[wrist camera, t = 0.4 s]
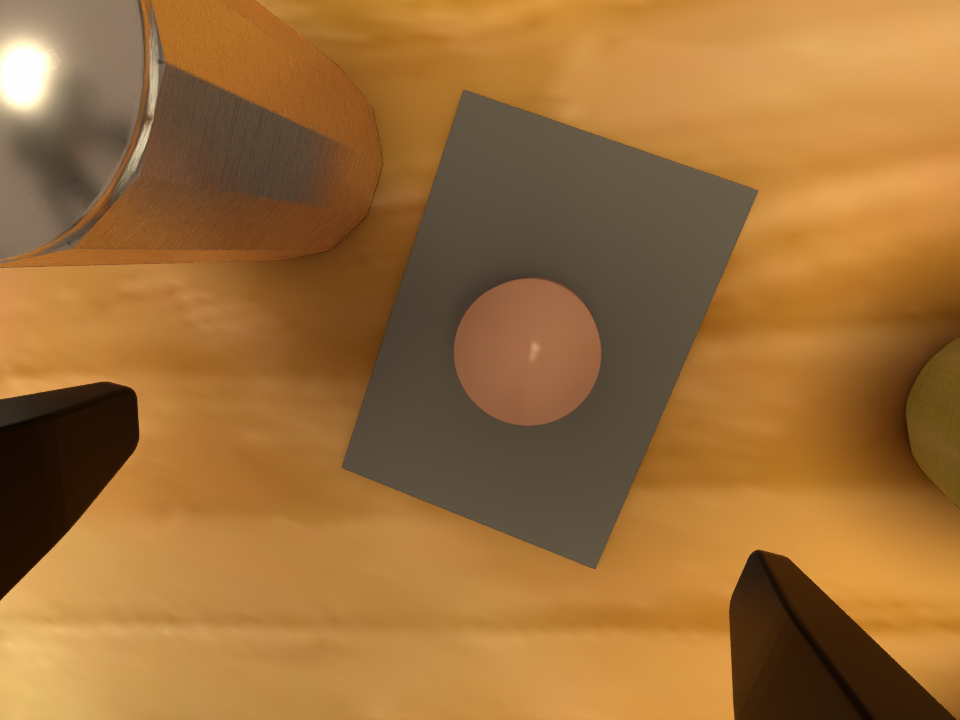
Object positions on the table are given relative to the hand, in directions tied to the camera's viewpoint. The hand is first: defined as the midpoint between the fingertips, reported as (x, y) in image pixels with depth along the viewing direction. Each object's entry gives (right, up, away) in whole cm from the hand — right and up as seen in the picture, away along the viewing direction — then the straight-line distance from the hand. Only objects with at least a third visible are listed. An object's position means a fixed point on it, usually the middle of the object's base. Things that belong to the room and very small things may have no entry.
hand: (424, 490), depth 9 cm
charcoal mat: (+3, +3, +13) cm, 14 cm away
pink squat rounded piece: (+3, +3, +13) cm, 13 cm away
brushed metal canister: (-6, +9, +14) cm, 17 cm away
